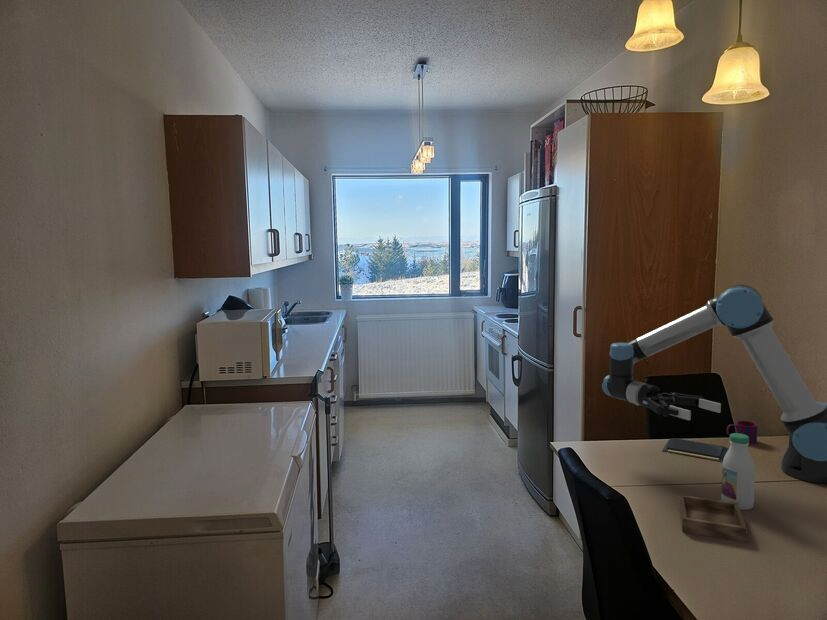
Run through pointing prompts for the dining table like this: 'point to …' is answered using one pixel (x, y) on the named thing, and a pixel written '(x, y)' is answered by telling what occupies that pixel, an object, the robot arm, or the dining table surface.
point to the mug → (746, 430)
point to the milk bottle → (738, 473)
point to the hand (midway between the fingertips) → (705, 412)
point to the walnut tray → (712, 518)
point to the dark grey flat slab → (696, 449)
